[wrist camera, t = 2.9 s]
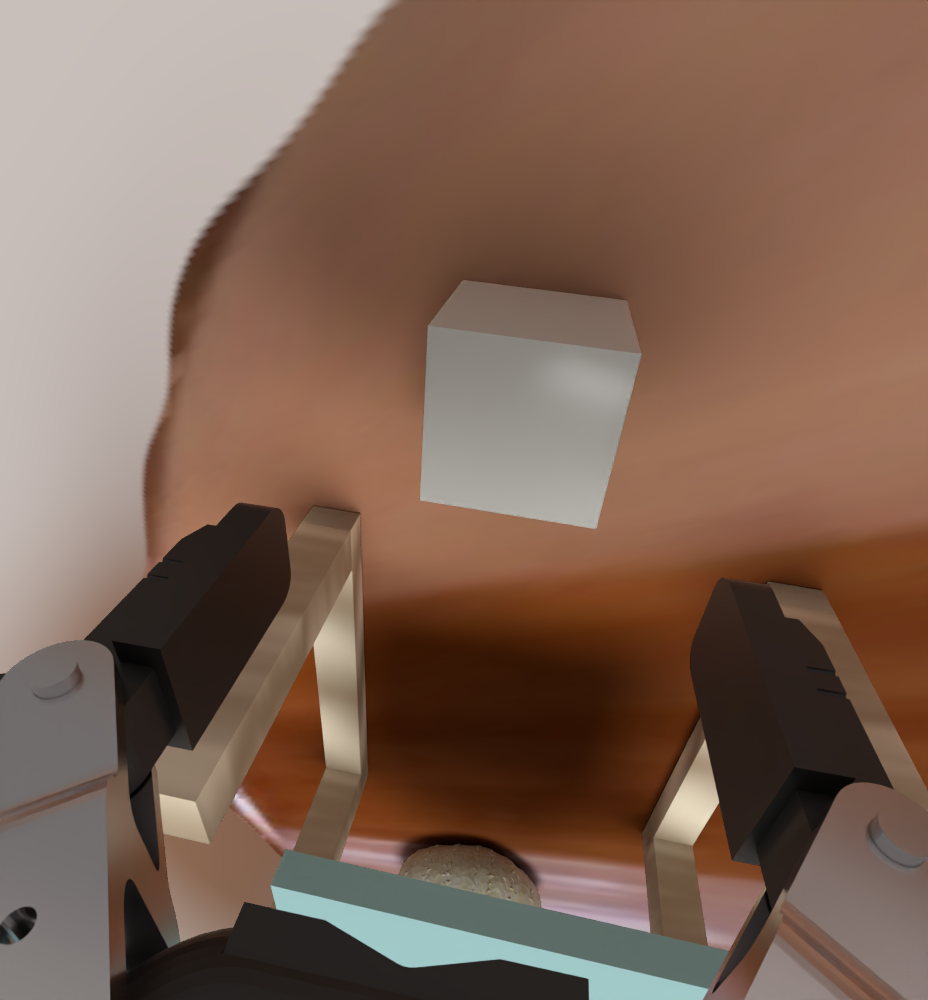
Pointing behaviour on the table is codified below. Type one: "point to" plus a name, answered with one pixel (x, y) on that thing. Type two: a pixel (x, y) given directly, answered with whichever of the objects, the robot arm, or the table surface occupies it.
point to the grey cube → (526, 401)
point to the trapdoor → (490, 931)
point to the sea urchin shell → (472, 872)
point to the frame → (341, 685)
